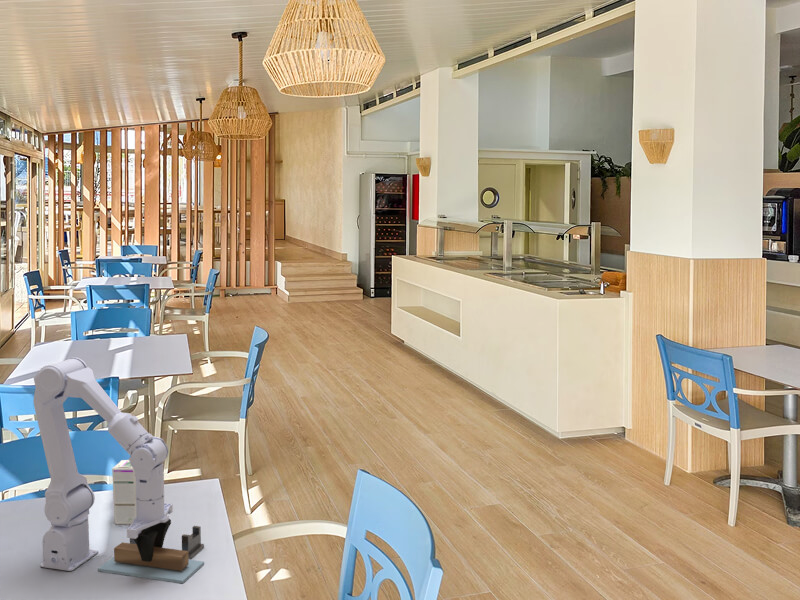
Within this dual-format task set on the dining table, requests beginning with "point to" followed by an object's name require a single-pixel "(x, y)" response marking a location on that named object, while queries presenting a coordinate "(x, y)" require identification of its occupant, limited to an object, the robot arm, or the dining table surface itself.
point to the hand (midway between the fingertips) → (151, 556)
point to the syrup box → (124, 492)
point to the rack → (189, 542)
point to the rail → (160, 557)
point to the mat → (152, 571)
